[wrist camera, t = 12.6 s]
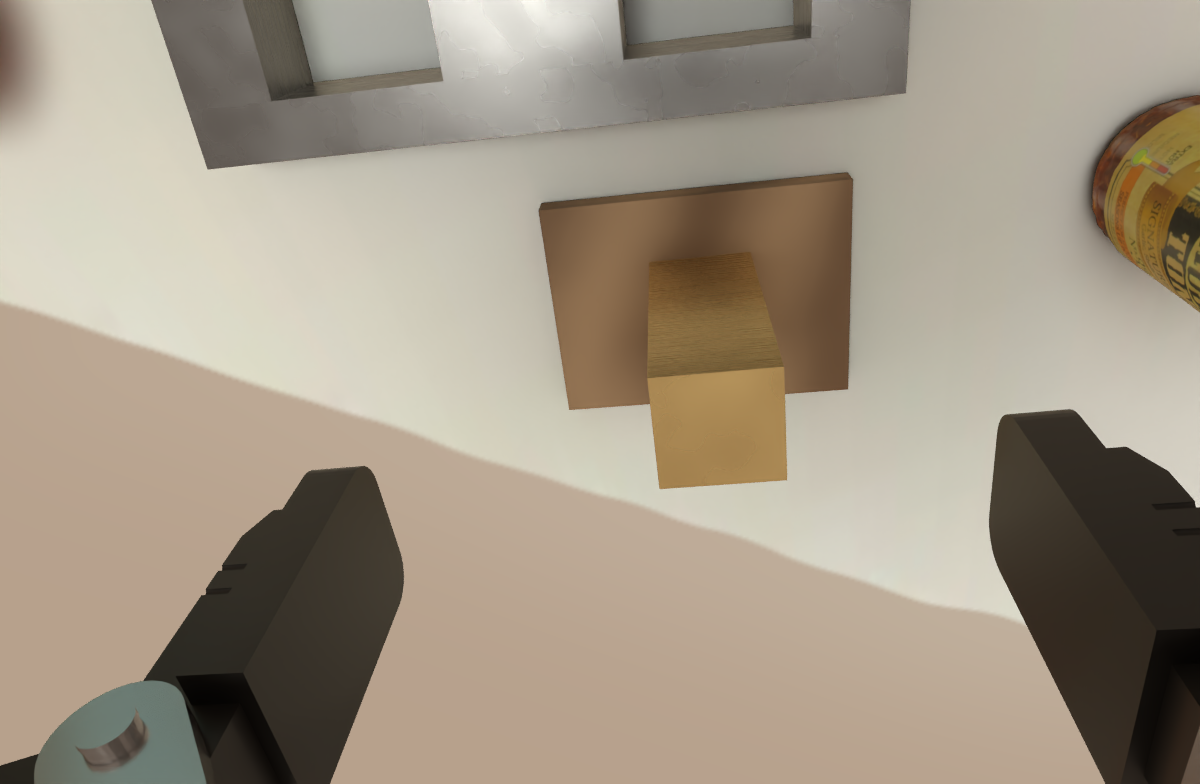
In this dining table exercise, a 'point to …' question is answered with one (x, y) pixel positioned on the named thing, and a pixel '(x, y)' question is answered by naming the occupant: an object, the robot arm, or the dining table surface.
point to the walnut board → (696, 229)
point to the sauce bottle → (1155, 195)
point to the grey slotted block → (510, 74)
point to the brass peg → (714, 374)
